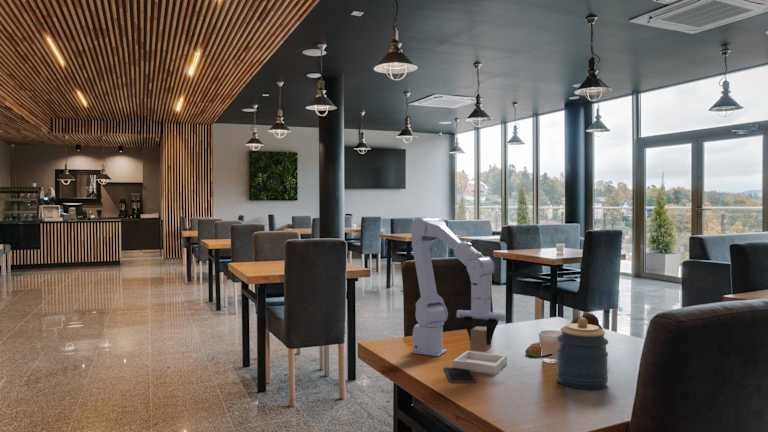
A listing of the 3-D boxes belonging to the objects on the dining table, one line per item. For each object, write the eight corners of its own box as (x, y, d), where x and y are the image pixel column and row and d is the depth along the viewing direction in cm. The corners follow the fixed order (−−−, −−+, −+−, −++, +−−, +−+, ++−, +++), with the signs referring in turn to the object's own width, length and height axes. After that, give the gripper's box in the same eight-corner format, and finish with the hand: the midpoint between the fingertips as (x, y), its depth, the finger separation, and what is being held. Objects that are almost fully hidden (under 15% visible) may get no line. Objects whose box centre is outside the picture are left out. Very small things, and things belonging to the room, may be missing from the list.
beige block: (470, 350, 162) (470, 329, 162) (476, 345, 168) (476, 326, 168) (485, 352, 160) (485, 331, 160) (491, 347, 166) (491, 327, 166)
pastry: (538, 359, 173) (538, 347, 173) (519, 355, 178) (519, 343, 178) (554, 354, 179) (554, 342, 179) (535, 350, 184) (535, 339, 184)
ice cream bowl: (605, 358, 173) (605, 311, 173) (603, 368, 163) (603, 317, 163) (569, 355, 178) (570, 308, 177) (565, 363, 167) (565, 314, 167)
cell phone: (468, 369, 162) (468, 367, 162) (477, 384, 148) (477, 381, 148) (443, 369, 162) (443, 367, 162) (450, 384, 148) (450, 381, 148)
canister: (602, 394, 140) (603, 324, 140) (551, 385, 147) (551, 319, 147) (611, 380, 151) (612, 316, 151) (563, 373, 158) (564, 311, 158)
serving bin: (453, 368, 161) (453, 360, 161) (467, 358, 172) (467, 350, 172) (495, 375, 155) (495, 366, 155) (506, 364, 167) (506, 355, 167)
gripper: (453, 297, 164) (452, 343, 164) (501, 301, 157) (501, 349, 157) (461, 294, 170) (460, 338, 170) (507, 298, 163) (507, 343, 163)
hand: (480, 343), depth 164 cm, fingers closed on beige block, 4 cm apart
